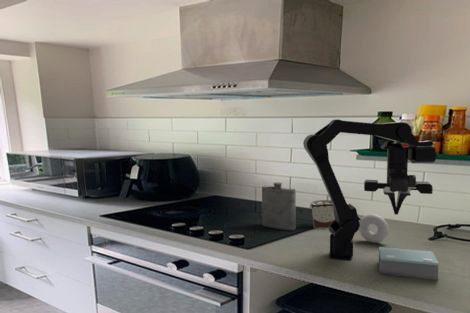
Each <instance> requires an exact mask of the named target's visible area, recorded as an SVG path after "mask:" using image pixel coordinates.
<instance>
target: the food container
mask: <svg viewBox="0 0 470 313" xmlns="http://www.w3.org/2000/svg"><path fill="white" fill-rule="evenodd" d="M309 209H310V210H311V214H312V215H311V216H312V225H313V229H329V228H328V226H329V225H330V224H331V223H332V222H333V221H334V220H335V216H334V210H333V204H332V202H331V199H318V200H317V199H316V200H313V201H311V203H310V205H309Z"/></svg>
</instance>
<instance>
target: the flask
mask: <svg viewBox="0 0 470 313" xmlns="http://www.w3.org/2000/svg"><path fill="white" fill-rule="evenodd" d="M282 185H283V183H282V182H278V181H277V182H273V186H266V185H265V186H261V214H262V216H261V218H262V219H261V220H262V223H261V224H262V225H261V226H262V227H266V228H271V229H276V230H283V231H296V230H295V229H296V227H297V226H296V224H297V223H296V221H297V220H296V214H297V213H296V205H297V204H296V203H297V202H296V200H297V199H296V188H285V187H282Z"/></svg>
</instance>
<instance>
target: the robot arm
mask: <svg viewBox="0 0 470 313" xmlns="http://www.w3.org/2000/svg"><path fill="white" fill-rule="evenodd" d="M340 133H344V134H354V135H364V136H374V137H379V138H381V139H386V141H384V143H383V144H382V145H381V146H380V149H383V150H387V151H386V152H387V153H386V156H387V157H386V182H379V181H378V179H365V180H364V181H363V189H364V190H363V191H364V192H373V193H375V192H377V191H378V190H379V189H380V190H383V191H382V192H383V194H384V195H385V196H386V195H387V197H388V198H389V200H390V204H391V206H392V210H393V213H394V215H398V214H399V212H400V210H401V207H402V204H403V203H404V201H405V199H406V198H407V197H408V196H409V197H411V195H412V194H411V191H418V192H419V193H420V194H422V195H425V194H426V195H433V192H434V191H433V185H432V184H431V183H430V182H429V181H418V180H417V176H416V174H415V175H414V174H408V172H409V170H408V167H409V166H408V165H409V164H408V163H409V162H408V161H410V163H412V164H433V163H435V162H436V159H437V155H438V154H437V151H436V148H435V146H434V142H433V140H422V141H419V140H418V139H417V138H416V136H415V135H414V134H413V133H412V128H411V126H410V124H409V123H407V122H403V121H401V122H399V121H394V122H380V123H374V122H360V121H351V120H342V119H338V118H337V119H332V120H331V121H330V122H329V123H327V124H326V125H325V126H324V127H322V128H321V129H319V130H318V131H316V132H315V133H314V134H309V135H307V136H306V137H305V138H304V140H303V143H302V144H303V148H304V150H305V151H306V153H307V154H308V156H309V158H311V160H312V161H313V163H314V164H315V166H316V168H317V170H318V173H319V175H320V178H321V180H322V182H323V185H324V187H325V190H326V191H327V195H328V197H329V200H331V202H332V204H333V210H334V216H335V220H334V221H333V222H332V223H331V224H330V225H329V226H328V228H327V229H328V230H329V233H330V236H329V254H328V258H329V259H337V260H348V261H350V260H352V257H353V256H354V240H353V239H354V237H355V234H356V233H358V232H359V227H360V220H361V218H360V217H359V214H358V212H357V208H356V207H355V206H354V205H353V204H351V203H349V204H348V203H347V201H346V198H345V196H344V194H343V191H342V189H341V186H340V184H339V182H338V180H337V176H336V175H335V172H334V170H333V167H332V166H331V162H330V158H329V150H328V144H330V143H331V142H332V141H333V140H335V138H336V137H337V136H338V135H339V134H340ZM391 141H392V142H391ZM393 141H394V143H393ZM396 142H397V143H396ZM403 145H405V146H403ZM406 145H407V146H406ZM396 192H397V197H396V195H395V194H396Z"/></svg>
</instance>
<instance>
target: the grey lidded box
mask: <svg viewBox="0 0 470 313" xmlns="http://www.w3.org/2000/svg"><path fill="white" fill-rule="evenodd" d="M378 267H379V274H380V275H388V276H389V275H390V276H396V277H397V276H398V277H407V278H416V279H424V280H433V281H434V280H435V281H438V280H439V266H438V265H428V264H418V263H408V262H397V261H387V260H381V258H380V252H379V251H378Z"/></svg>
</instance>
